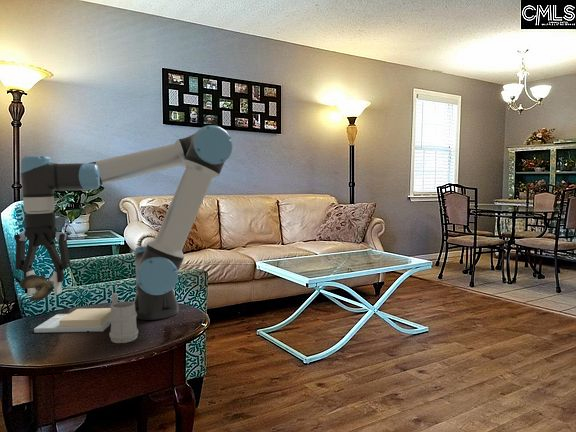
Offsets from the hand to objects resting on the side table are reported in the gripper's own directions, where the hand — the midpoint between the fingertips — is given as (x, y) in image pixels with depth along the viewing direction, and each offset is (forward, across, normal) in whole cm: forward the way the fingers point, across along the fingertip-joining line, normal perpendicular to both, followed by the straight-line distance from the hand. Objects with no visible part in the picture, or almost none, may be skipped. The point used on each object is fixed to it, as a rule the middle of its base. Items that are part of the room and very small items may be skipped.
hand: (45, 293), depth 123 cm
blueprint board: (+13, -4, -12) cm, 18 cm away
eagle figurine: (+1, 0, +2) cm, 2 cm away
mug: (+13, -21, 0) cm, 25 cm away
